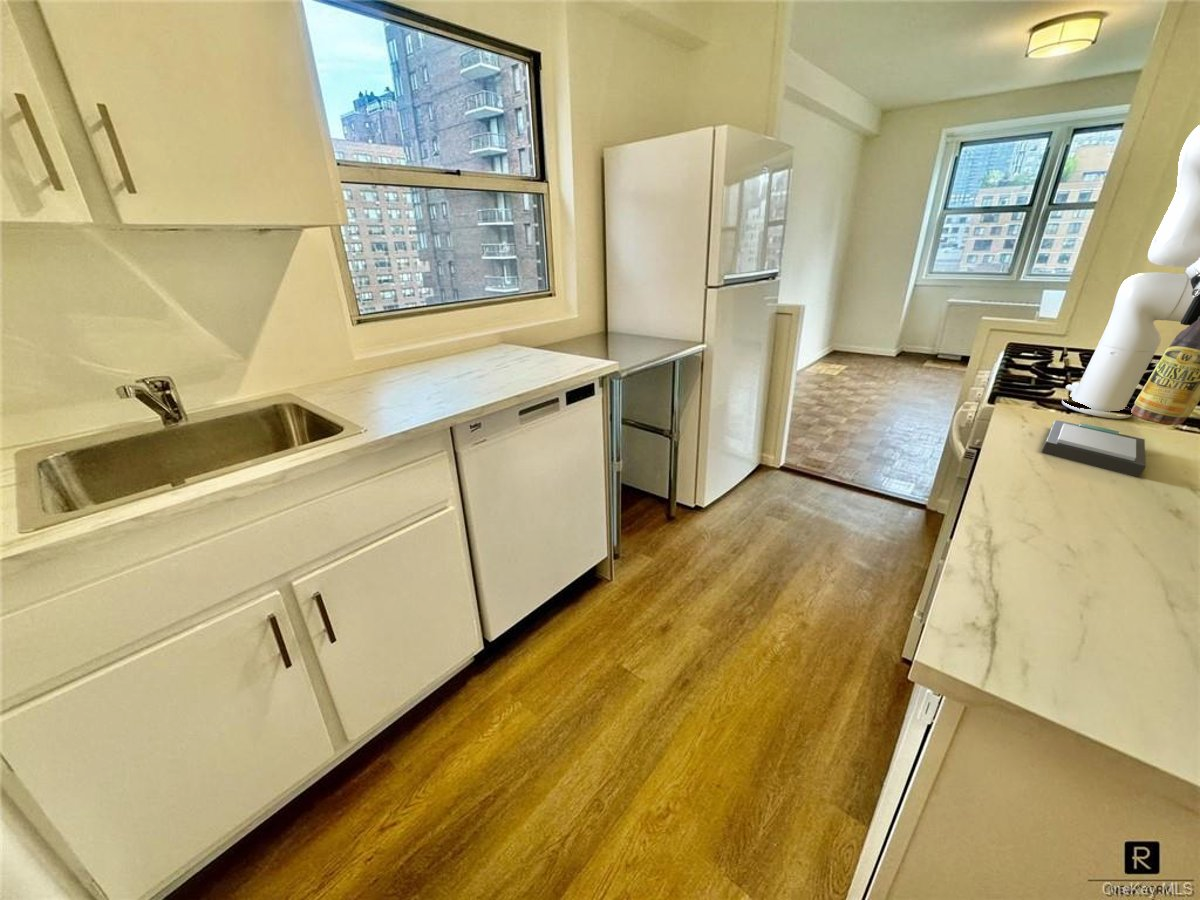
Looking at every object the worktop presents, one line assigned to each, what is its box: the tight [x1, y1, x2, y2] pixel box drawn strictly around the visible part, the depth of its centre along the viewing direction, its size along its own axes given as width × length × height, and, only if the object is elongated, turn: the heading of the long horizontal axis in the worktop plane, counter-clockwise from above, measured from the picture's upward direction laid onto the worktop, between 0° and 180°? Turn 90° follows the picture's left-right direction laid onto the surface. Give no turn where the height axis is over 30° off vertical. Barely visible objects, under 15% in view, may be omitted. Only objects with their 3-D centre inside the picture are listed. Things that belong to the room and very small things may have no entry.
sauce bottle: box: [1131, 316, 1200, 426], centre depth 73 cm, size 6×6×20 cm
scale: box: [1041, 419, 1146, 478], centre depth 97 cm, size 16×14×3 cm
